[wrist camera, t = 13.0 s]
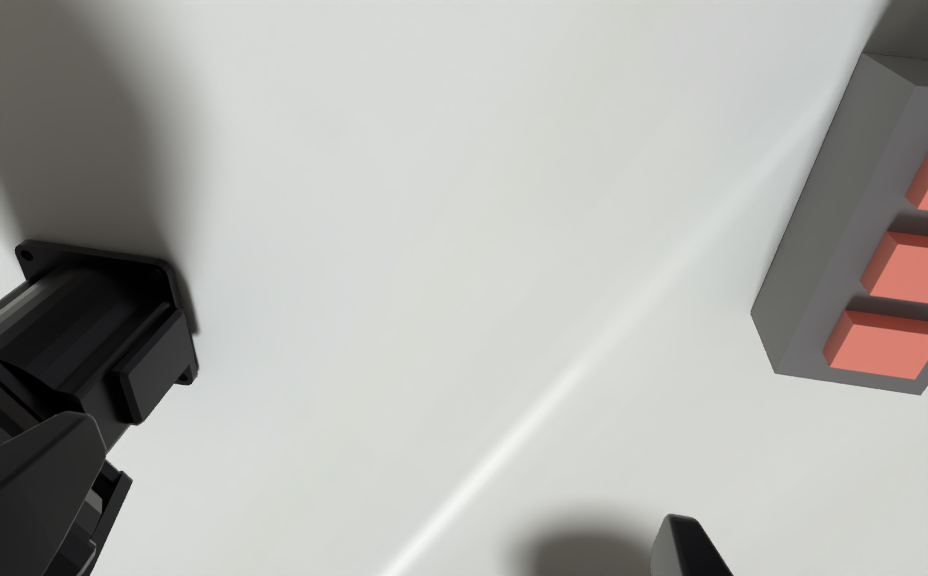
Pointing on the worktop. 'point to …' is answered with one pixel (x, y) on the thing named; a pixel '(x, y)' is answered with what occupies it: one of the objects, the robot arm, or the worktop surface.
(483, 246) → the worktop surface
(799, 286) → the gray power strip
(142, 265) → the robot arm
